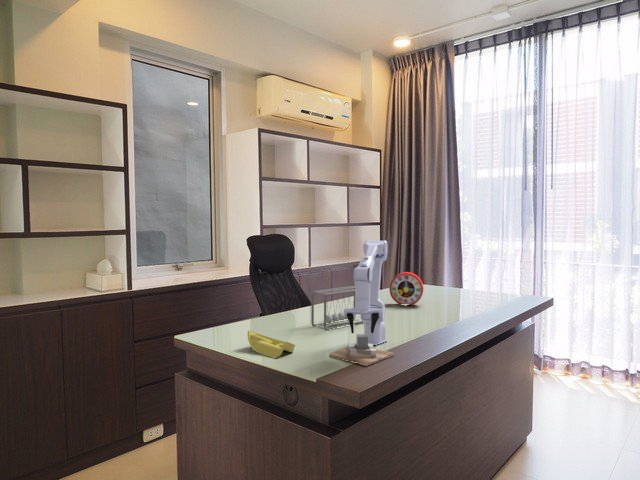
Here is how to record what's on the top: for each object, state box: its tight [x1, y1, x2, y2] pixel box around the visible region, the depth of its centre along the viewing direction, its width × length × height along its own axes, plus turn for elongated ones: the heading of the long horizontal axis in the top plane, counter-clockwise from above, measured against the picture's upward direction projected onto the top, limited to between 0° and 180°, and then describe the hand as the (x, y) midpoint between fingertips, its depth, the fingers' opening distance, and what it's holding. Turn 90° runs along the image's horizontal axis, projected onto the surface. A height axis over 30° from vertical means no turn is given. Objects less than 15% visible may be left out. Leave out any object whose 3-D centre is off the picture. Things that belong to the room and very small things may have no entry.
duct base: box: [328, 343, 395, 364], centre depth 177 cm, size 18×18×4 cm
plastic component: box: [247, 329, 296, 359], centre depth 183 cm, size 20×7×10 cm
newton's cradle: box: [310, 285, 363, 331], centre depth 228 cm, size 30×10×18 cm, turn 130°
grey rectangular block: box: [355, 333, 368, 349], centre depth 177 cm, size 4×4×7 cm
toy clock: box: [388, 271, 424, 306], centre depth 278 cm, size 20×6×20 cm, turn 73°
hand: (362, 332), depth 176 cm, fingers open, 7 cm apart
